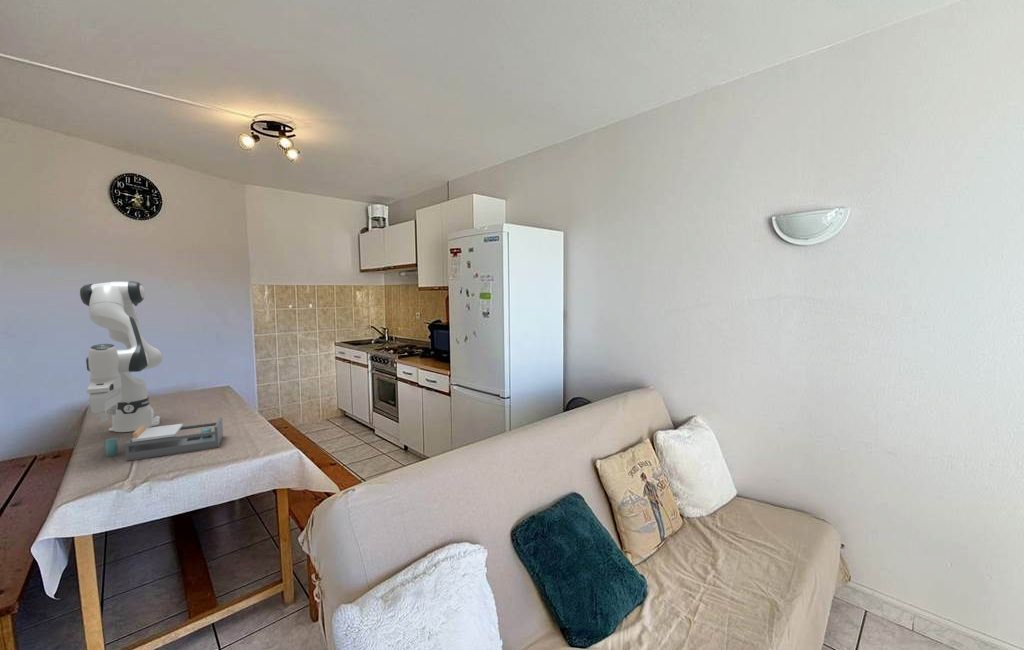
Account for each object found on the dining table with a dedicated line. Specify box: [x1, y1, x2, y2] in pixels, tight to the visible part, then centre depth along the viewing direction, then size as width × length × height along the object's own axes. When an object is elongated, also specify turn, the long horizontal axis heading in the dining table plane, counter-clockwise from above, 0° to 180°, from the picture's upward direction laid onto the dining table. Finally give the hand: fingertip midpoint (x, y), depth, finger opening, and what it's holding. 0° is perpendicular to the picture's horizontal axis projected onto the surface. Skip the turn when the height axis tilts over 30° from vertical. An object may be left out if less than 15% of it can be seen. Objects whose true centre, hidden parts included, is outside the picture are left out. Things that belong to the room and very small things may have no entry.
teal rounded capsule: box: [104, 437, 119, 458], centre depth 168 cm, size 4×4×6 cm
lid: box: [132, 423, 184, 442], centre depth 173 cm, size 15×14×3 cm
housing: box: [124, 417, 224, 462], centre depth 176 cm, size 15×30×9 cm, turn 119°
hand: (109, 417), depth 167 cm, fingers open, 8 cm apart
